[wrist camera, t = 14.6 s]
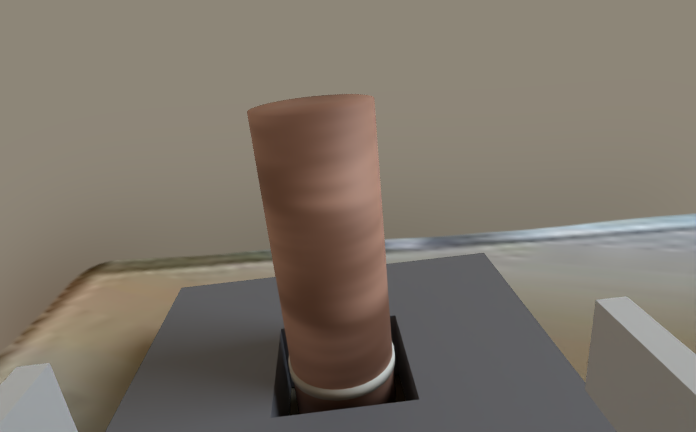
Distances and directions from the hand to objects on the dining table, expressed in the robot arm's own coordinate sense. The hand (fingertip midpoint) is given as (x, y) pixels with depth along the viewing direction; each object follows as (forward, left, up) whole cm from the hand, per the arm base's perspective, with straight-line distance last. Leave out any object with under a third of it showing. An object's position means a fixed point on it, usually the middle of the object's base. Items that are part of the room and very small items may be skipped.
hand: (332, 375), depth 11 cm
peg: (0, -9, -11) cm, 14 cm away
